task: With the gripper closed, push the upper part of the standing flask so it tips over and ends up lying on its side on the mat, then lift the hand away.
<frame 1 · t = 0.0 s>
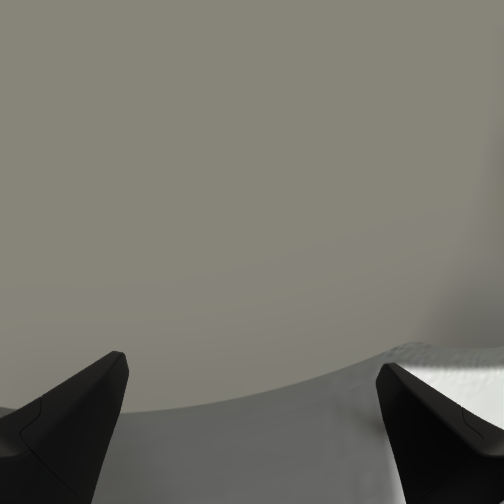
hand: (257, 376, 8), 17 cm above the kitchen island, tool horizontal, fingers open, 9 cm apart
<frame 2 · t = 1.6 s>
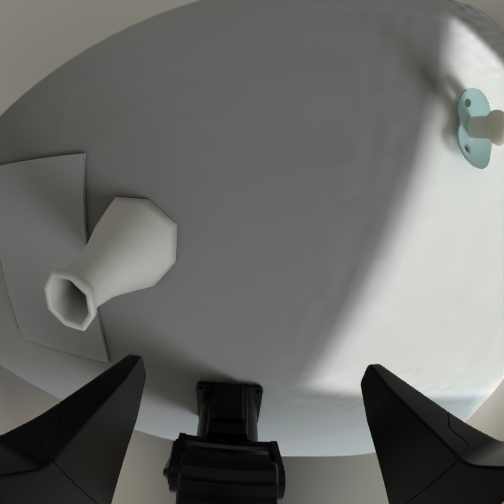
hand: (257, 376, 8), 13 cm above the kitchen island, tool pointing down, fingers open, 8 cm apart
pacifier: (469, 131, 18), on the kitchen island
flask: (136, 240, 21), on the kitchen island
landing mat: (40, 265, 21), on the kitchen island
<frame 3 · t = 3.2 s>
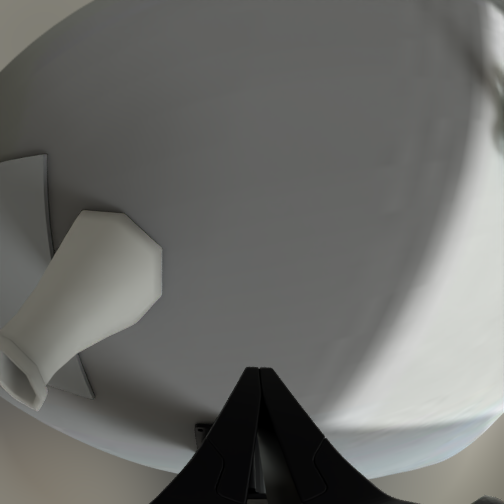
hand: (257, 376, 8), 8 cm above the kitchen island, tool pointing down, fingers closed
flask: (111, 266, 15), on the kitchen island
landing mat: (8, 289, 16), on the kitchen island
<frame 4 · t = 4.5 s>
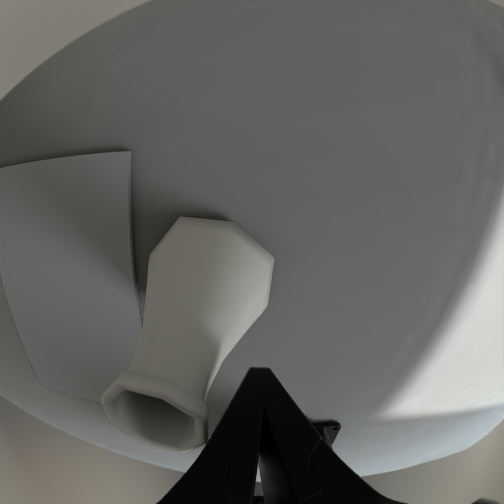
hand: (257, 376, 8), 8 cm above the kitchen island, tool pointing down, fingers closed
flask: (209, 277, 16), on the kitchen island, touching gripper
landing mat: (61, 303, 16), on the kitchen island
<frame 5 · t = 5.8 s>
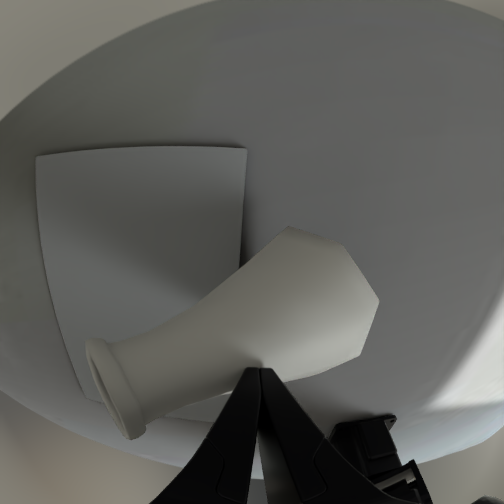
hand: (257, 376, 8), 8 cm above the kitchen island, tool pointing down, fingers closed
flask: (310, 301, 13), point 2 cm above the kitchen island
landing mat: (133, 313, 16), on the kitchen island
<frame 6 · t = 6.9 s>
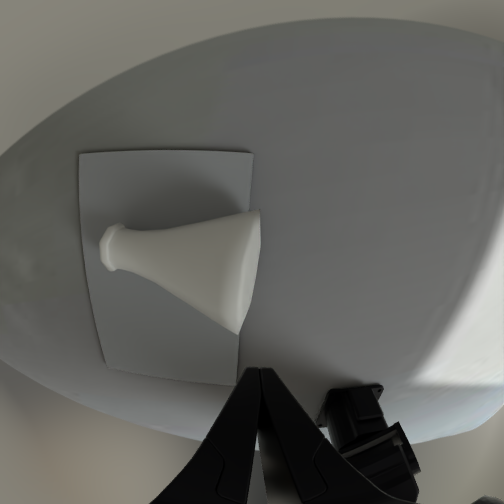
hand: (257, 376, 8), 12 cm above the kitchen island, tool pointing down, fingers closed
flask: (257, 272, 16), point 4 cm above the kitchen island, touching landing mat
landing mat: (159, 283, 21), on the kitchen island
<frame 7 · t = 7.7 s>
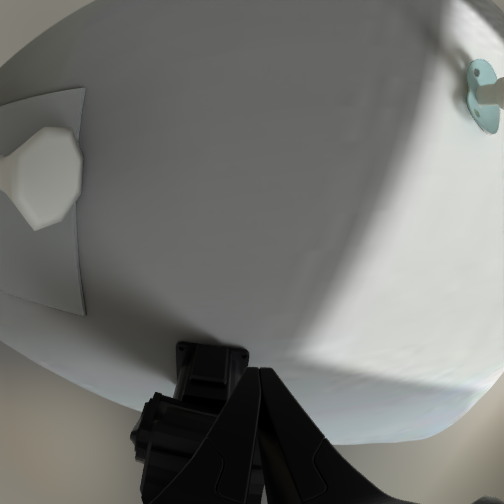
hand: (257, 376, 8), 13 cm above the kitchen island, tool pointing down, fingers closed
pacifier: (478, 101, 16), on the kitchen island
flask: (55, 177, 15), point 4 cm above the kitchen island, touching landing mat
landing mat: (25, 205, 19), on the kitchen island
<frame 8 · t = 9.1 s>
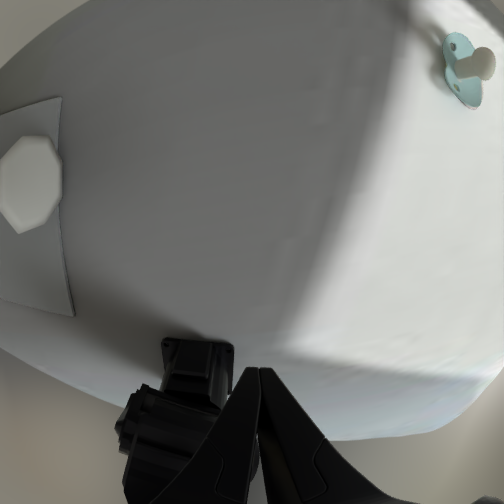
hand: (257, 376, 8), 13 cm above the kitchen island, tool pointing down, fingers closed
pacifier: (458, 76, 16), on the kitchen island
flask: (35, 182, 15), point 4 cm above the kitchen island, touching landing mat
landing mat: (14, 213, 19), on the kitchen island
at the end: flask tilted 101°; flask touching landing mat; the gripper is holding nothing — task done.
